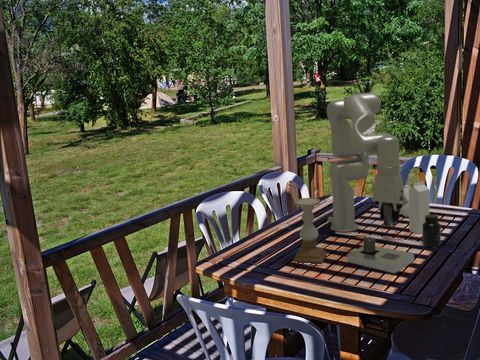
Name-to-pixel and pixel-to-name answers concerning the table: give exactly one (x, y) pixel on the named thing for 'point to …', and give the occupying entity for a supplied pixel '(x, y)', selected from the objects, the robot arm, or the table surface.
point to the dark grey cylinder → (388, 214)
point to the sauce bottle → (405, 208)
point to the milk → (418, 207)
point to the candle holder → (309, 234)
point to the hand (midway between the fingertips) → (389, 219)
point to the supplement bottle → (431, 231)
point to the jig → (380, 257)
